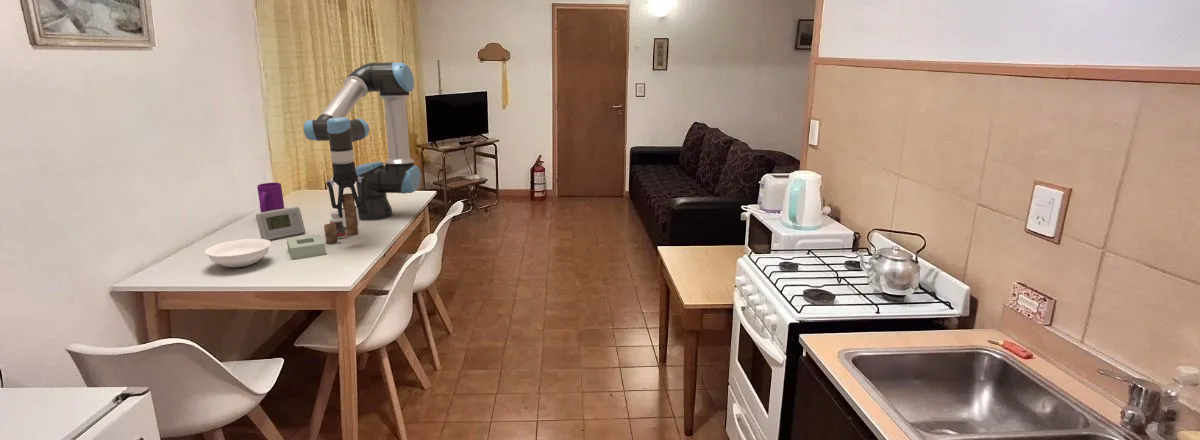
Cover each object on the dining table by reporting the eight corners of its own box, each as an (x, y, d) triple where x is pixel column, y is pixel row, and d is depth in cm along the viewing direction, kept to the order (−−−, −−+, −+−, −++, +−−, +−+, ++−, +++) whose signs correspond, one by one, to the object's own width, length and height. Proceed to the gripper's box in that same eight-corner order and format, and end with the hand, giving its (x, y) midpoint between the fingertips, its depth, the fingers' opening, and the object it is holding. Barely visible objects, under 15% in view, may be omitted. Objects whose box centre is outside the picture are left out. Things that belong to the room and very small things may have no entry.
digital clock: (260, 242, 240) (256, 215, 238) (258, 237, 248) (254, 210, 245) (307, 236, 249) (303, 209, 246) (303, 230, 256) (300, 205, 253)
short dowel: (336, 240, 242) (334, 222, 240) (338, 243, 238) (336, 225, 237) (325, 242, 240) (323, 224, 238) (327, 244, 236) (324, 226, 235)
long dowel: (357, 232, 237) (352, 192, 232) (359, 234, 233) (354, 195, 229) (346, 233, 235) (340, 194, 230) (347, 236, 231) (342, 196, 227)
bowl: (203, 278, 203) (199, 259, 201) (211, 260, 220) (208, 242, 219) (272, 269, 210) (269, 251, 209) (275, 252, 228) (273, 235, 226)
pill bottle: (329, 239, 244) (326, 214, 241) (334, 235, 249) (331, 210, 247) (344, 238, 244) (341, 214, 242) (348, 234, 249) (346, 210, 247)
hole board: (320, 244, 237) (319, 234, 236) (326, 254, 225) (324, 243, 224) (288, 249, 232) (286, 238, 231) (291, 259, 220) (290, 248, 219)
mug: (288, 215, 280) (284, 182, 276) (276, 224, 265) (271, 189, 262) (266, 216, 279) (261, 182, 275) (253, 225, 264) (247, 190, 260)
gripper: (366, 157, 234) (373, 219, 240) (316, 162, 225) (325, 226, 232) (370, 160, 227) (377, 223, 234) (319, 166, 219) (328, 231, 226)
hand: (351, 224), depth 233 cm, fingers closed on long dowel, 4 cm apart
